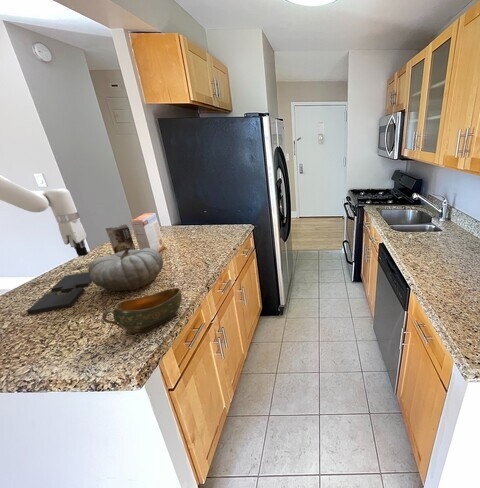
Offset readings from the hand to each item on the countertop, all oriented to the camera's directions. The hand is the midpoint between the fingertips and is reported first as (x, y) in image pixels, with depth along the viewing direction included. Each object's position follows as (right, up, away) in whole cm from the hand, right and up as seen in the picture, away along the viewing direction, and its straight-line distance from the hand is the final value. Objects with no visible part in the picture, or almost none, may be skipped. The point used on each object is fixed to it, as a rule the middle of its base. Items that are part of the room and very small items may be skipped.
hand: (83, 255), depth 121 cm
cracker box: (+18, 0, +22) cm, 29 cm away
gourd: (+29, -12, -9) cm, 33 cm away
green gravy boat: (+54, -22, -32) cm, 66 cm away
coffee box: (+6, -1, +19) cm, 20 cm away
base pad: (+10, -17, -21) cm, 29 cm away
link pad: (+5, -12, -8) cm, 15 cm away
